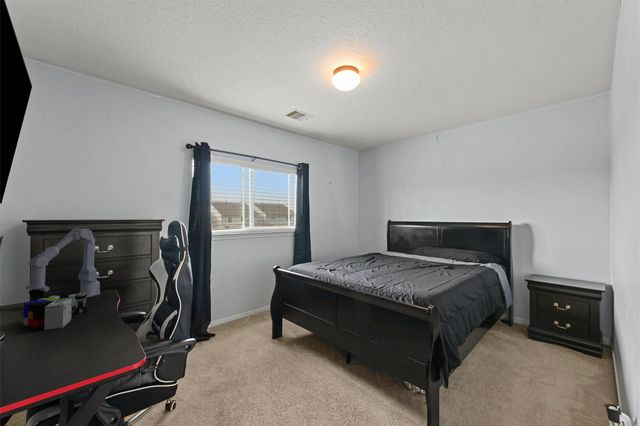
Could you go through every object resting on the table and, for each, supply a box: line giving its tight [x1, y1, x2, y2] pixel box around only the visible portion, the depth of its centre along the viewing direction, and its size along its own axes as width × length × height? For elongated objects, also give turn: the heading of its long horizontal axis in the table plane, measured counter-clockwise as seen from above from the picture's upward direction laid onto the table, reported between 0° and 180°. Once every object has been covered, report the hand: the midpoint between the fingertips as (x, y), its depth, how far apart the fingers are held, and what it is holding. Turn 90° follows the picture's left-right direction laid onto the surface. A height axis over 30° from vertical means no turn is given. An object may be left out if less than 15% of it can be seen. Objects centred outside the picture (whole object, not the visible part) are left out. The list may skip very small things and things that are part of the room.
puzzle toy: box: [22, 297, 62, 328], centre depth 130 cm, size 10×10×10 cm
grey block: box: [68, 293, 77, 301], centre depth 158 cm, size 3×4×4 cm, turn 77°
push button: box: [71, 292, 87, 315], centre depth 144 cm, size 7×5×10 cm
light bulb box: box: [43, 298, 73, 331], centre depth 127 cm, size 11×7×11 cm, turn 27°
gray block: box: [48, 295, 61, 299], centre depth 155 cm, size 3×4×4 cm, turn 77°
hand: (36, 303), depth 151 cm, fingers closed
